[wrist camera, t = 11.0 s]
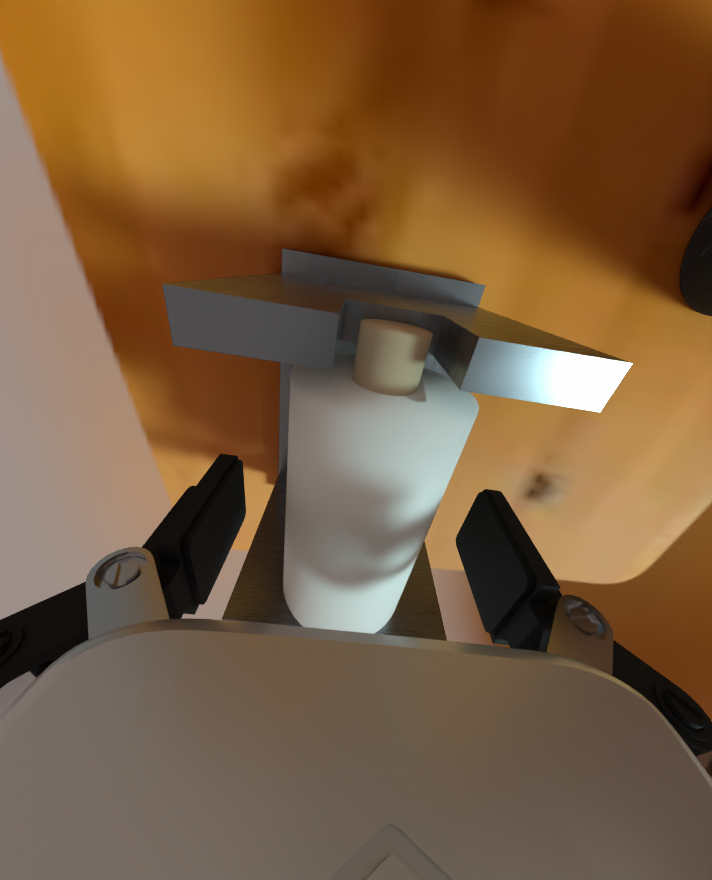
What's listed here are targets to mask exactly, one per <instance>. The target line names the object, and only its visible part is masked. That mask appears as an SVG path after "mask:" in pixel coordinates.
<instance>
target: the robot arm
mask: <svg viewBox="0 0 712 880" xmlns="http://www.w3.org/2000/svg"><path fill="white" fill-rule="evenodd" d="M245 514H246V505H245V490H244V475H243V462H242V461H241V460H238V457H237V456H233V455H226V454H220V455H219V456H218V458H217V459H216V460H215V462H214V463H213V464H212V466H211V467H210V468H209V470H208V471H207V472H206V474H205V475H204V476H203V478H202V479H201V480H200V482H199V483H198V484H197V486H191V487H189V488H188V489H187V490H186V491H185V493H184V494H183V495H182V496H181V498H180V499H179V500H178V502H177V503H176V504H175V505H174V507H173V508H172V509H171V511H170V512H169V513H168V514H167V516H166V517H165V518H164V520H163V521H162V522H161V523H160V525H159V526H158V527H157V529H156V530H155V531H154V532H153V534H152V535H151V536H150V538H149V539H148V540H147V541H146V543H145V544H144V545H143V546H142V548H140V547H128V548H124V549H121V550H118V551H115V552H114V553H111V554H109V555H107V556H106V557H104V558H103V559H101V560H100V561H99V562H98V563H97V564H96V565H95V566H94V567H93V568H92V569H91V571H90V572H89V574H88V576H87V579H86V582H84V583H82V584H80V585H77V586H75V587H73V588H71V589H69V590H66V591H64V592H62V593H59V594H57V595H55V596H53V597H51V598H48V599H46V600H44V601H42V602H39V603H37V604H35V605H33V606H30V607H28V608H26V609H24V610H21V611H19V612H17V613H15V614H13V615H10V616H8V617H6V618H4V619H2V620H0V880H712V722H711V720H710V718H709V717H708V716H707V715H706V713H705V712H704V711H703V709H702V708H701V707H700V706H699V705H698V704H697V703H696V702H695V701H694V700H693V699H692V698H691V697H690V696H689V695H688V694H687V693H685V692H684V691H683V690H682V689H680V688H679V687H678V686H677V685H675V684H674V683H672V682H671V681H670V680H668V679H667V678H665V677H664V676H663V675H661V674H660V673H659V672H657V671H656V670H654V669H653V668H652V667H650V666H649V665H647V664H646V663H645V662H643V661H642V660H640V659H639V658H638V657H636V656H635V655H634V654H632V653H631V652H629V651H628V650H627V649H625V648H624V647H623V646H621V645H620V644H618V643H617V642H616V641H614V640H613V633H612V629H611V627H610V625H609V623H608V622H607V620H606V619H605V618H604V616H603V615H602V614H601V613H600V612H599V611H598V610H597V609H596V608H595V607H594V606H592V605H591V604H590V603H588V602H587V601H585V600H583V599H581V598H579V597H576V596H573V595H564V596H562V594H561V593H560V591H559V589H560V586H559V584H558V583H557V581H556V580H555V578H554V576H553V575H552V573H551V571H550V570H549V568H548V567H547V565H546V563H545V562H544V560H543V558H542V557H541V555H540V554H539V552H538V550H537V549H536V547H535V545H534V544H533V542H532V541H531V539H530V537H529V536H528V534H527V532H526V531H525V529H524V528H523V526H522V524H521V523H520V521H519V519H518V518H517V516H516V515H515V513H514V511H513V510H512V508H511V506H510V505H509V503H508V502H507V500H506V498H505V497H504V495H503V494H502V492H500V491H495V490H488V489H485V490H483V492H480V493H478V495H477V497H476V499H475V501H474V503H473V505H472V507H471V509H470V511H469V513H468V515H467V517H466V519H465V521H464V523H463V525H462V527H461V529H460V531H459V533H458V535H457V537H456V546H457V549H458V552H459V555H460V558H461V561H462V564H463V566H464V569H465V572H466V575H467V578H468V581H469V584H470V587H471V590H472V593H473V596H474V599H475V602H476V605H477V608H478V611H479V614H480V617H481V620H482V623H483V626H484V628H485V630H486V632H488V633H490V636H491V639H492V642H493V644H503V645H509V646H510V648H508V647H500V646H491V645H482V644H472V643H462V642H452V641H443V640H433V639H423V638H413V637H403V636H393V635H383V634H372V633H362V632H351V631H341V630H330V629H320V628H309V627H298V626H287V625H276V624H265V623H253V622H239V621H226V620H212V619H181V617H182V615H183V613H185V614H195V612H196V610H197V608H198V606H199V604H204V603H205V602H206V601H207V599H208V596H209V594H210V592H211V590H212V587H213V585H214V584H215V581H216V579H217V577H218V575H219V573H220V570H221V568H222V566H223V564H224V562H225V560H226V557H227V555H228V553H229V551H230V549H231V547H232V545H233V542H234V540H235V538H236V536H237V534H238V532H239V530H240V527H241V525H242V523H243V521H244V518H245Z"/></svg>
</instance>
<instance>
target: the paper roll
mask: <svg viewBox="0 0 712 880" xmlns="http://www.w3.org/2000/svg"><path fill="white" fill-rule="evenodd" d="M432 336H433V334H432V333H431V332H430V331H428V330H425V329H423V328H420V327H417V326H413V325H409V324H405V323H401V322H395V321H389V320H382V319H363V320H361V324H360V330H359V337H358V343H357V350H356V354H337V356H336V359H335V363H334V366H333V370H326V369H320V368H314V367H307V366H301V365H295V366H294V367H293V368H292V370H291V375H290V403H289V431H288V459H287V487H286V515H285V544H284V572H283V590H284V596H285V599H286V602H287V605H288V607H289V609H290V611H291V613H292V614H293V616H294V617H295V618H296V620H297V621H298V622H299V623H300V624H301V625H302V626H303V627H309V628H320V629H330V630H341V631H351V632H362V633H372V634H374V633H376V632H377V631H379V630H380V629H381V628H382V627H383V626H384V625H386V623H387V622H388V621H389V619H390V618H391V616H392V615H393V613H394V611H395V609H396V606H397V604H398V601H399V599H400V597H401V594H402V592H403V590H404V587H405V585H406V582H407V580H408V578H409V575H410V573H411V571H412V568H413V566H414V564H415V561H416V559H417V556H418V554H419V552H420V549H421V547H422V545H423V542H424V540H425V537H426V535H427V533H428V530H429V528H430V526H431V523H432V521H433V518H434V516H435V514H436V511H437V509H438V507H439V504H440V502H441V499H442V497H443V495H444V492H445V490H446V488H447V485H448V483H449V480H450V478H451V476H452V473H453V471H454V469H455V466H456V464H457V462H458V459H459V457H460V454H461V452H462V450H463V447H464V445H465V443H466V440H467V438H468V435H469V433H470V431H471V428H472V426H473V424H474V421H475V419H476V416H477V414H478V411H479V406H478V403H477V401H476V399H475V398H474V396H473V395H472V394H471V393H470V392H467V391H461V390H459V388H458V387H457V386H456V385H455V383H454V382H453V381H452V380H451V379H449V378H447V377H445V376H443V375H441V374H438V373H436V372H434V371H431V370H428V369H425V368H424V364H425V361H426V357H427V354H428V350H429V347H430V343H431V340H432Z"/></svg>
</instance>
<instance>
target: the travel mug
mask: <svg viewBox="0 0 712 880" xmlns="http://www.w3.org/2000/svg"><path fill="white" fill-rule="evenodd" d="M680 285H681V291H682V295H683V297H684V299H685V301H686V302H687V303H688V304H689V306H690V307H692V308H693V309H694V310H696V311H697V312H700V313H702V314H704V315H708V316H712V208H711V209H710V210H709V211H708V213H707V214H706V215H705V217H704V218H703V220H702V221H701V223H700V224H699V226H698V228H697V229H696V231H695V233H694V235H693V237H692V238H691V241H690V243H689V245H688V247H687V249H686V252H685V255H684V258H683V262H682V267H681V273H680Z"/></svg>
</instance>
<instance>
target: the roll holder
mask: <svg viewBox="0 0 712 880" xmlns="http://www.w3.org/2000/svg"><path fill="white" fill-rule="evenodd" d="M162 285H163V291H164V297H165V302H166V308H167V313H168V319H169V325H170V330H171V336H172V342H173V346H179V347H186V348H192V349H198V350H205V351H211V352H218V353H224V354H230V355H237V356H243V357H250V358H256V359H262V360H269V361H275V362H280V416H279V476H278V478H277V481H276V483H275V486H274V488H273V491H272V493H271V496H270V499H269V501H268V504H267V506H266V509H265V511H264V514H263V516H262V519H261V521H260V524H259V526H258V529H257V531H256V534H255V536H254V539H253V541H252V544H251V547H250V549H249V552H248V554H247V557H246V559H245V562H244V564H243V567H242V570H241V572H240V574H239V577H238V579H237V582H236V584H235V587H234V590H233V592H232V595H231V597H230V600H229V602H228V605H227V607H226V610H225V613H224V615H223V618H222V620H226V621H239V622H253V623H265V624H276V625H287V626H298V627H303V626H302V625H301V624H300V623H299V622H298V621H297V620H296V618H295V617H294V616H293V614H292V613H291V611H290V609H289V607H288V605H287V602H286V599H285V596H284V590H283V572H284V544H285V515H286V487H287V459H288V431H289V403H290V375H291V370H292V368H293V367H294V366H295V365H301V366H307V367H314V368H320V369H326V370H333V366H334V363H335V359H336V356H337V354H356V350H357V343H358V337H359V330H360V324H361V320H363V319H382V320H389V321H395V322H401V323H405V324H409V325H413V326H417V327H420V328H423V329H425V330H428V331H430V332H431V333H432V334H433V336H432V340H431V343H430V347H429V350H428V354H427V357H426V361H425V364H424V368H425V369H428V370H431V371H434V372H436V373H438V374H441V375H443V376H445V377H447V378H449V379H451V380H452V381H453V382H454V383H455V385H456V386H457V387H458V388H459V390H461V391H467V392H474V393H480V394H487V395H493V396H499V397H506V398H512V399H519V400H525V401H531V402H538V403H544V404H551V405H557V406H563V407H570V408H576V409H583V410H589V411H595V412H600V411H601V410H602V408H603V407H604V405H605V404H606V402H607V401H608V399H609V398H610V396H611V395H612V393H613V392H614V390H615V389H616V387H617V386H618V384H619V383H620V381H621V380H622V378H623V377H624V375H625V374H626V373H627V371H628V370H629V368H630V367H631V365H632V364H633V363H630V362H627V361H624V360H622V359H619V358H616V357H613V356H611V355H608V354H605V353H602V352H600V351H597V350H594V349H591V348H589V347H586V346H583V345H580V344H578V343H575V342H572V341H569V340H567V339H564V338H561V337H558V336H556V335H553V334H550V333H547V332H545V331H542V330H539V329H536V328H534V327H531V326H528V325H525V324H523V323H520V322H517V321H514V320H512V319H509V318H506V317H503V316H501V315H498V314H495V313H492V312H490V311H487V310H484V309H481V308H479V307H478V305H479V302H480V300H481V297H482V294H483V291H484V288H485V285H481V284H476V283H470V282H465V281H459V280H454V279H448V278H443V277H437V276H432V275H426V274H421V273H415V272H410V271H404V270H399V269H393V268H388V267H382V266H377V265H371V264H366V263H360V262H355V261H349V260H344V259H338V258H333V257H327V256H322V255H316V254H311V253H305V252H300V251H294V250H289V249H283V248H282V273H272V274H261V275H251V276H240V277H229V278H219V279H208V280H197V281H187V282H176V283H165V284H162ZM374 634H383V635H393V636H403V637H413V638H423V639H433V640H443V641H447V639H446V634H445V630H444V626H443V621H442V617H441V612H440V608H439V604H438V599H437V595H436V590H435V586H434V581H433V577H432V572H431V568H430V564H429V559H428V555H427V550H426V546H425V542H423V545H422V547H421V549H420V552H419V554H418V556H417V559H416V561H415V564H414V566H413V568H412V571H411V573H410V575H409V578H408V580H407V582H406V585H405V587H404V590H403V592H402V594H401V597H400V599H399V601H398V604H397V606H396V609H395V611H394V613H393V615H392V616H391V618H390V619H389V621H388V622H387V623H386V625H384V626H383V627H382V628H381V629H380V630H379V631H377V632H376V633H374Z"/></svg>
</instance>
